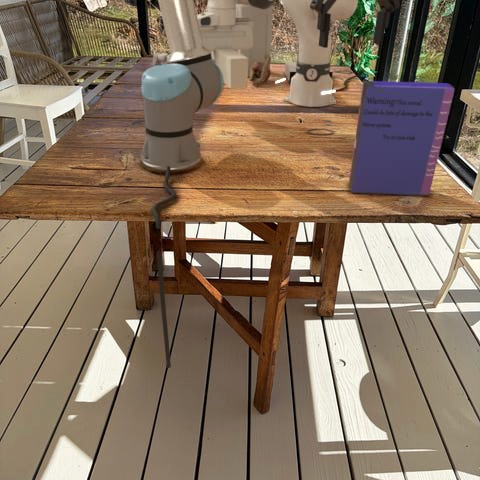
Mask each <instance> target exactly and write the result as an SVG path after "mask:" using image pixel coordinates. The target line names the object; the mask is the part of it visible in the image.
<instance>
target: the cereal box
mask: <svg viewBox="0 0 480 480" xmlns="http://www.w3.org/2000/svg"><path fill="white" fill-rule="evenodd" d="M454 93H455V88H454V86H453V85H452V84H450V83H448V82H419V81H417V82H415V81H386V80H385V81H381V80H363V82H362V88H361V96H360V100H359V101H360V102H359V108H358V115H357V123H356V130H355V137H354V144H353V151H352V158H351V164H350V172H349V177H348V178H349V179H348V187H349V190H350V193H351V194H373V195H395V196H397V195H398V196H420V197H421V196H423V197H430V193H431V190H432V189H431V188H432V185H433V180H434V176H435V172H436V168H437V164H438V160H439V156H440V152H441V147H442V143H443V139H444V135H445V132H446V126H447V123H448V119H449V118H448V117H449V115H450V110H451V106H452V103H453V97H454Z"/></svg>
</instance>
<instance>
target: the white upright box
mask: <svg viewBox="0 0 480 480" xmlns="http://www.w3.org/2000/svg"><path fill="white" fill-rule="evenodd" d="M273 8H274V4H273V5H272V6H271V7H269V8H267V9H260V8H256V7H253V6H245V5H240V4H236V18H249V19H251V20H252V21H253V31H252V34H253V47H252V48H251V49H245V50H238V53H240V54H242V55H243V56H245V57H247V58H248V78H250V75H249V69H250V67H251V66H252V65H253V64H254V62H256V61H258V62H263V63H265V62H266V60H267V59H265V55H269V56H270V57H271V56H272V55H271V54H272V33H273V32H272V31H273V10H274V9H273ZM249 21H250V20H249ZM242 22H244V21H242ZM271 58H272V57H271ZM269 69H270V70H271V63H270V64H269Z"/></svg>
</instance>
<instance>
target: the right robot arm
mask: <svg viewBox="0 0 480 480" xmlns="http://www.w3.org/2000/svg"><path fill="white" fill-rule="evenodd" d="M276 1H277V0H207V5H206V11H205V12H202V13H199V14H197V18H198V23H199V28H200V33H201V37H202V42H203V46H204V47H205V48H206V49H208V50H209V51H210V52H211V55H212V51H215V50H216V49H223V48H232V49H233V50H235V51H237V52H238V50H245V49H251V48H252V47H253V34H252V31H253V21H252V20H251V19H249V18H236V4H240V5H245V6H253V7H256V8H260V9H267V8H269V7H271V6H272V5H273V6H274V4H275V2H276ZM311 2H312V0H281V3H282V8H283V11H284V12H285V13H286V14H287V16H289V18H290V19H291V20H292V22H293V23H294V26H295V28H296V32H297V36H298V37H297V38H298V55H297V61H296V62H297V65H296V72H297V73H296V74H295V75H294V76H293V77H292V78H291V84H290V88H289V94H287V95H286V96H285V97H284V101H285V102H288V103H291V104H293V105H296V106H301V107H306V108H307V107H309V108H318V107H319V108H320V107H326V106H330V105H336V104H337V100H336V98H335V96H334V95H333V93H336V92H341V91H344V90H345V89H347V88H348V85H347V82H348V81H350V80H353V79H355V78H359V79H363V77H362V76H361V75H360V74H355V75H352V76H350V77H348V78H347V79H345V80H344V81H343V82H344V83H343V85H344V86H343V87H341V88H338V89H334V80H333V77H332V78H331V77H330V76H329V73H330V71H331V51H332V39H331V36H330V35H329V38H328V48H324V47H321V46H319V36H320V30H318V29H317V20H318V12H317V11H315V10H313V9H311V8H310V4H311ZM358 3H359V0H336V2H335V3H334V4H333V6H332V7H331V8H330V9H329V11H328V12H327V13H328V14H331V18H330V21H340V20H346V19H350V18H351V17H352V16H353V15H354V13H355V12H356V10H357V8H358ZM249 20H250V21H249ZM242 21H244V22H242ZM212 61H213V62H214V63H215V60H214V59H212ZM284 81H286V78H285V77H284V78H281V79H279V80H276V81H275V84H278V83H282V82H284Z"/></svg>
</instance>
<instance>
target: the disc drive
mask: <svg viewBox="0 0 480 480" xmlns="http://www.w3.org/2000/svg"><path fill="white" fill-rule="evenodd" d="M296 65H297V61H284V74H285V77H286V79H287V80H288V84H289V85H291V78H292V77H293V76H294V75H295V74H296V73H297V72H296ZM329 76H330V77H331V78H332V79H333V71H331V70H330V73H329Z"/></svg>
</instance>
